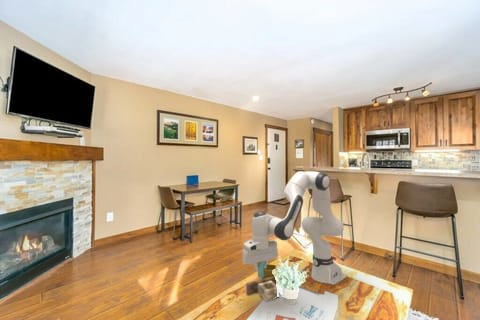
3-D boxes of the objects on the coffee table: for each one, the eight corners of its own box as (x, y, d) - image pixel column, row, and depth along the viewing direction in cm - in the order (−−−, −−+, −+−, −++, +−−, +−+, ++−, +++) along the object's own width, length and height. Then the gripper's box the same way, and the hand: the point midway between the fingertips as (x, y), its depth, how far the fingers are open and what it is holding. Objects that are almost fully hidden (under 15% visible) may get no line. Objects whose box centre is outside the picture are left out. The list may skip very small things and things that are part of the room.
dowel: (261, 273, 120) (261, 257, 120) (264, 276, 117) (264, 259, 117) (256, 275, 119) (256, 258, 119) (259, 278, 116) (259, 260, 116)
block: (271, 288, 132) (271, 280, 132) (279, 297, 124) (279, 288, 124) (257, 292, 128) (257, 283, 128) (266, 301, 120) (266, 291, 120)
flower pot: (276, 278, 144) (276, 264, 144) (275, 285, 135) (275, 271, 135) (263, 277, 146) (263, 263, 146) (261, 283, 138) (260, 269, 138)
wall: (278, 284, 136) (278, 275, 137) (280, 286, 135) (280, 276, 135) (246, 293, 127) (246, 283, 127) (247, 295, 125) (247, 284, 126)
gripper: (273, 238, 125) (273, 262, 125) (240, 244, 117) (241, 270, 117) (280, 241, 120) (280, 267, 119) (246, 248, 111) (246, 275, 111)
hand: (260, 269), depth 118 cm, fingers closed on dowel, 3 cm apart
